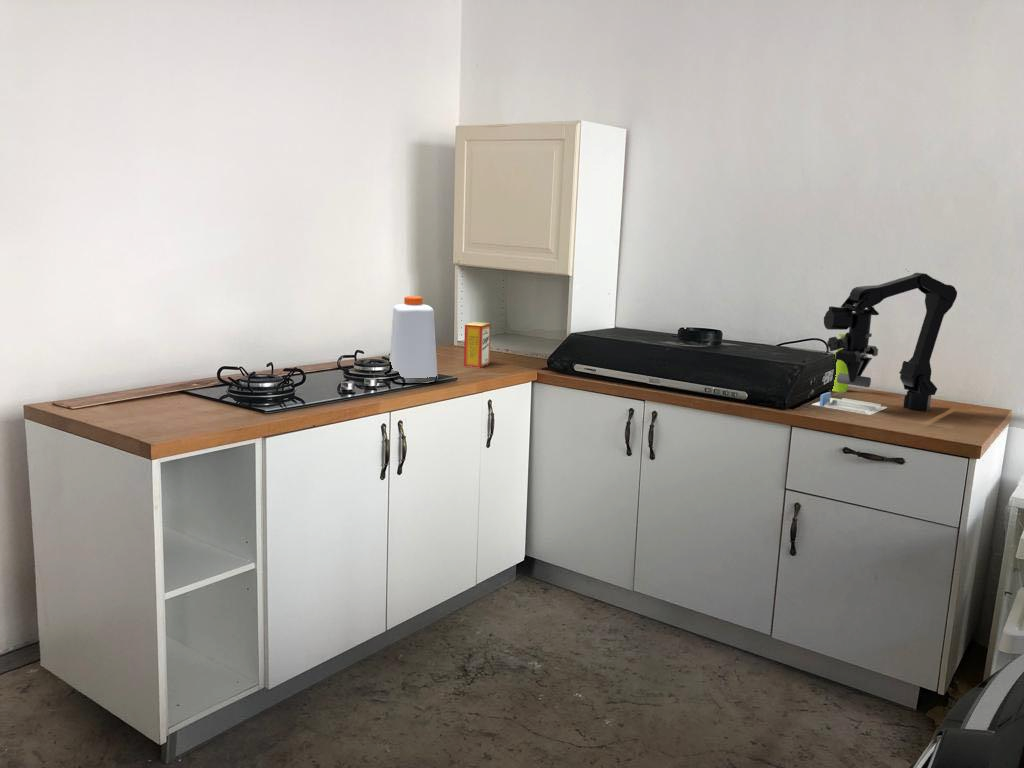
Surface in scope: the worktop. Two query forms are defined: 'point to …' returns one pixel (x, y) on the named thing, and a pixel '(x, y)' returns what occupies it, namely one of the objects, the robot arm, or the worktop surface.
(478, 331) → the baking soda box
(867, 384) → the dark grey bar
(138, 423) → the worktop surface
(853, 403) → the board
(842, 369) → the soap dispenser
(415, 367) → the plastic bottle
